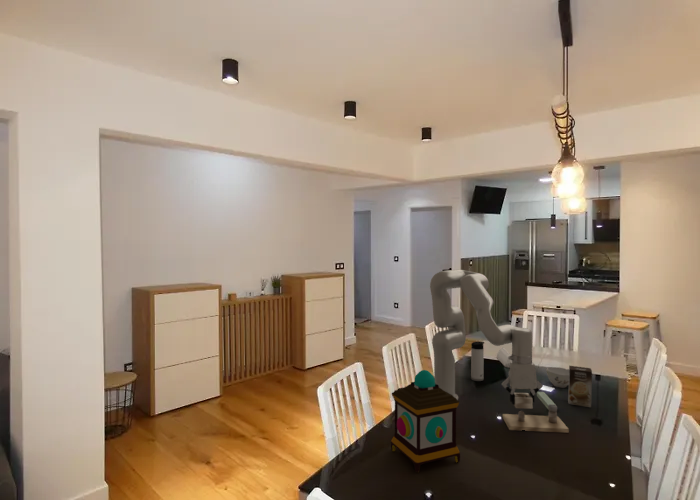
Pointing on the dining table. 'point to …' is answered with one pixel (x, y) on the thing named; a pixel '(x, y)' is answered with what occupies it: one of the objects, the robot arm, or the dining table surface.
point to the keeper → (547, 401)
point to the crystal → (504, 357)
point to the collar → (523, 401)
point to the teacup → (558, 376)
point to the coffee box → (580, 386)
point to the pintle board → (535, 422)
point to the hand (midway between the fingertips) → (522, 403)
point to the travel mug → (477, 361)
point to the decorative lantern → (425, 421)
